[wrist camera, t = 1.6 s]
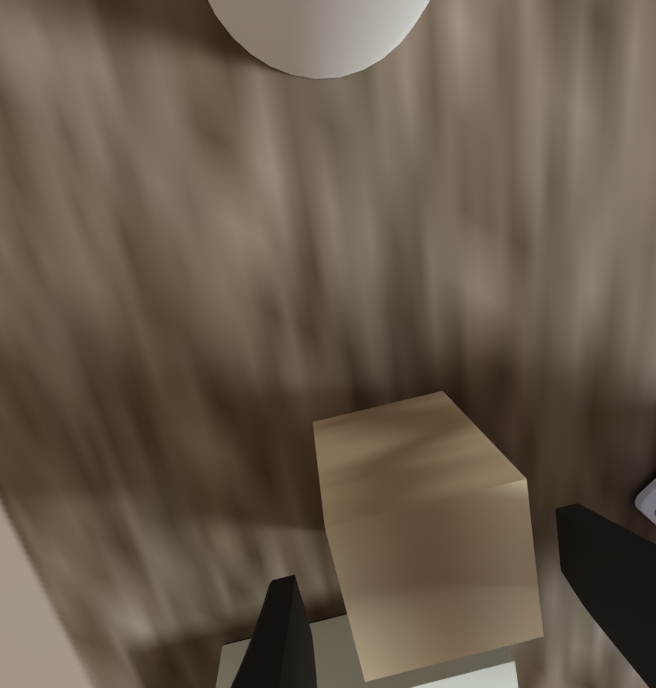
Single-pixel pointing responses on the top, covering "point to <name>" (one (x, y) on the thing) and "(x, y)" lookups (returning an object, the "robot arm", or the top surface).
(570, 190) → the top surface
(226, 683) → the dish
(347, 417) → the block
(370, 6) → the cylindrical container
